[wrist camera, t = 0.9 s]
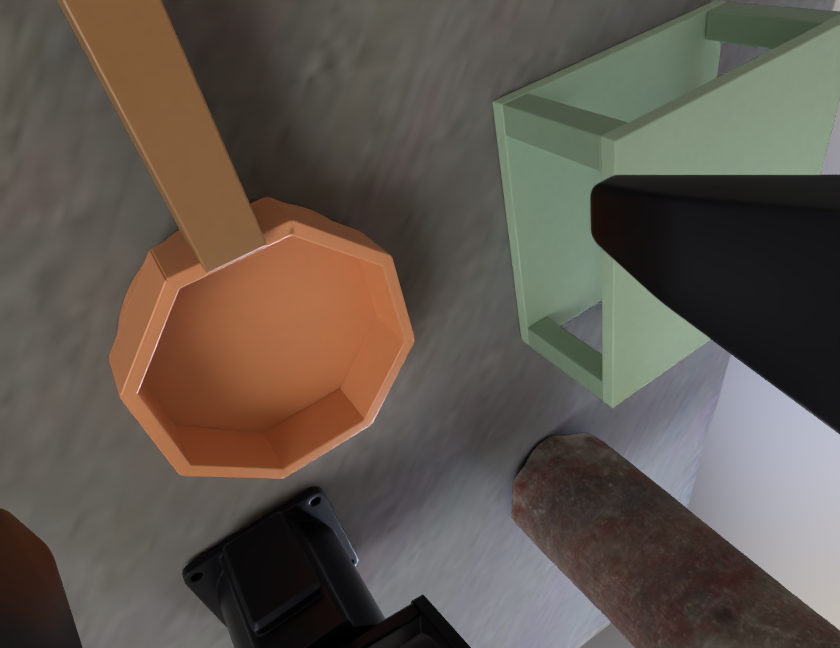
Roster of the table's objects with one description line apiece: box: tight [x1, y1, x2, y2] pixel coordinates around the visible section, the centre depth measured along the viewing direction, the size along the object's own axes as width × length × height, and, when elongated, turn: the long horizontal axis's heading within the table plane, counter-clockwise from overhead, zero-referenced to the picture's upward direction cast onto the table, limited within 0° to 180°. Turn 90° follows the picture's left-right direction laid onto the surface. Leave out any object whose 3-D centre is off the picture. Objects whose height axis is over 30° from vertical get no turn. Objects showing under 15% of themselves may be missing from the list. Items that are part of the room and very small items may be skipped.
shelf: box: [492, 1, 840, 408], centre depth 25 cm, size 12×12×6 cm
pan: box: [57, 0, 415, 478], centre depth 18 cm, size 16×9×3 cm, turn 12°
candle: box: [511, 433, 840, 648], centre depth 30 cm, size 8×7×20 cm
